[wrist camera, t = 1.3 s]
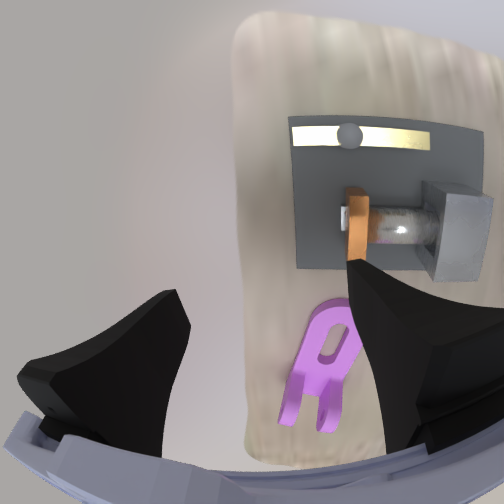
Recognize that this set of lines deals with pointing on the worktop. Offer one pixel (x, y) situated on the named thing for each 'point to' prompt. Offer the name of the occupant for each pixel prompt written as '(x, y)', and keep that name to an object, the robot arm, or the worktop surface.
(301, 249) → the grey latch board
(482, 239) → the block
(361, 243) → the orange block with stem
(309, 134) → the keeper bar
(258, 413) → the worktop surface
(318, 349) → the bracket
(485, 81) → the worktop surface
